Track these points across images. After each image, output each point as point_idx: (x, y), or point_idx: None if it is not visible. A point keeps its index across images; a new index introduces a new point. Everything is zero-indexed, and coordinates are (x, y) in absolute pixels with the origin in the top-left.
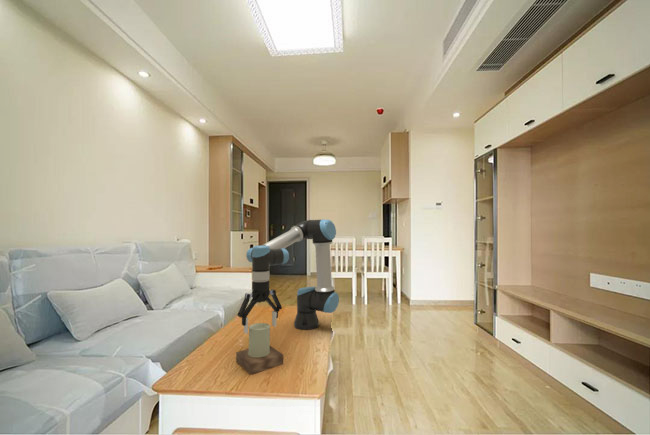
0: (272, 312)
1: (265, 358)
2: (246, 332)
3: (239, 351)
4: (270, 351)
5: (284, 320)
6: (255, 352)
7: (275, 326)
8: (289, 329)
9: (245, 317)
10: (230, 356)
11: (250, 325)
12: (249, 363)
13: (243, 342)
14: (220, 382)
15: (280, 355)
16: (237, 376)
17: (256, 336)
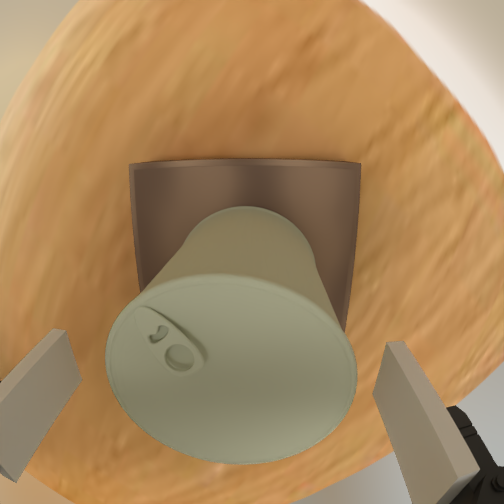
0: (19, 465)
1: (250, 176)
2: (406, 349)
3: None
4: (175, 251)
5: (48, 466)
6: (299, 239)
7: (60, 330)
8: None
9: (492, 477)
10: None
11: (296, 452)
12: (359, 184)
13: None
14: (462, 197)
15: (149, 162)
16: (397, 193)
17: (312, 280)
